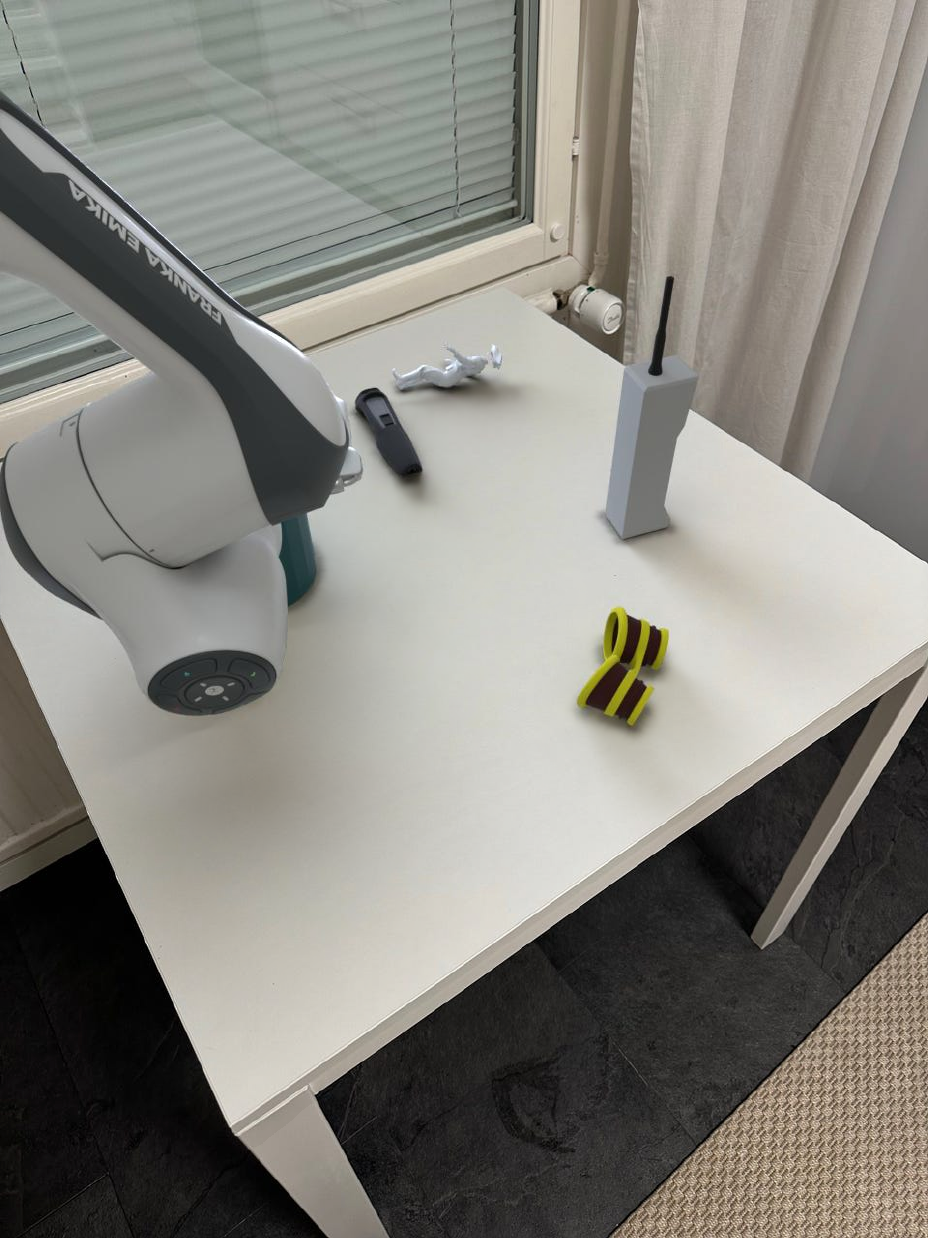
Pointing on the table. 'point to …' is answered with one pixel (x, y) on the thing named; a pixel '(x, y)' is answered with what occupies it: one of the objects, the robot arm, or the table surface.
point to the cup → (297, 557)
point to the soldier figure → (449, 369)
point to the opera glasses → (612, 680)
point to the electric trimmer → (388, 432)
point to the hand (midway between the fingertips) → (211, 393)
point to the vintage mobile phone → (648, 435)
